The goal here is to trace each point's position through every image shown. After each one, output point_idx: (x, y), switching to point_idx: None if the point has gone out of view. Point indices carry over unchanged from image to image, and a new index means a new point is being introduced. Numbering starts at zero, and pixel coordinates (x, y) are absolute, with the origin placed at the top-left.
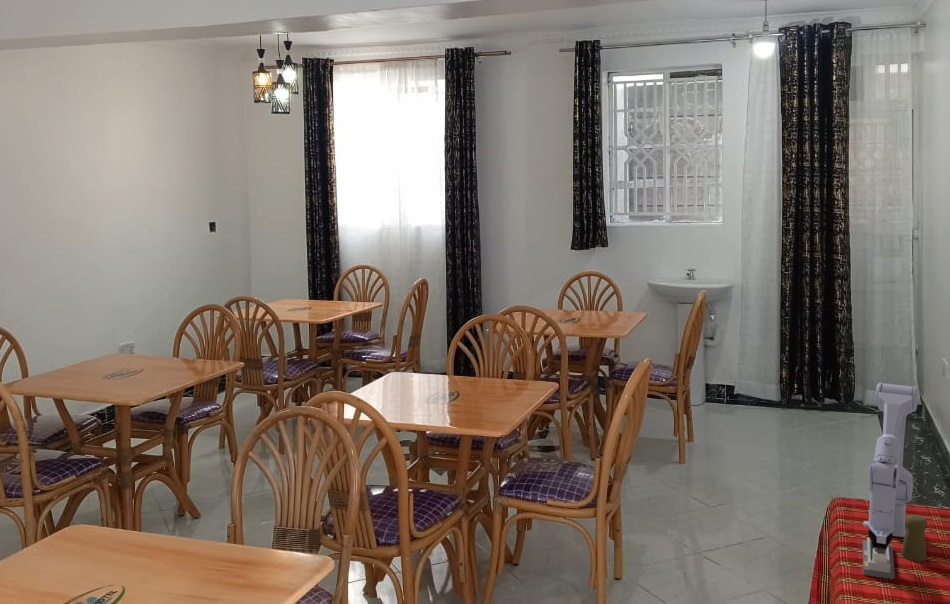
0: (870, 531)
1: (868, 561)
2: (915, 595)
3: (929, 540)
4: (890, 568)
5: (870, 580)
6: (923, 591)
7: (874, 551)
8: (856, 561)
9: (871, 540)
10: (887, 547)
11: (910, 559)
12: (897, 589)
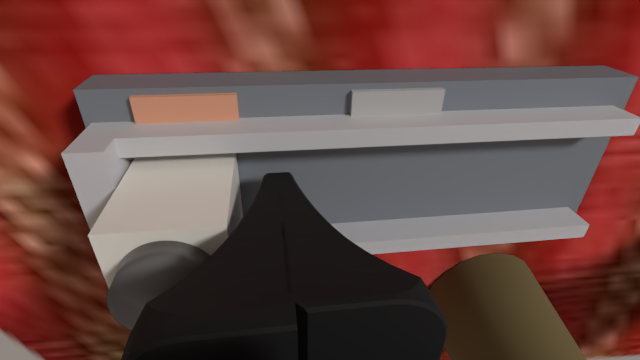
0: (267, 356)
1: (74, 153)
2: (12, 329)
3: (635, 327)
4: None
5: (27, 124)
6: (92, 348)
7: (139, 241)
8: (321, 21)
9: (185, 282)
10: (472, 240)
11: (431, 291)
12: (17, 263)
